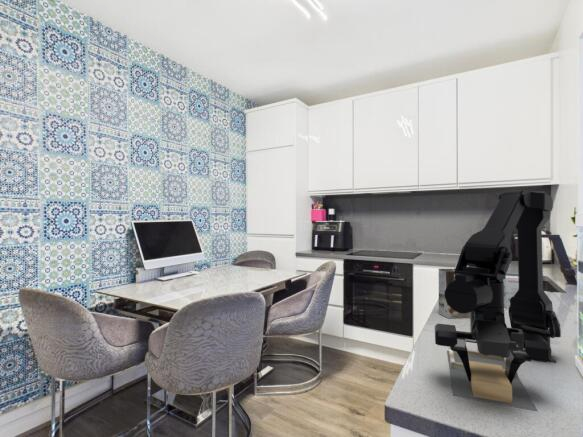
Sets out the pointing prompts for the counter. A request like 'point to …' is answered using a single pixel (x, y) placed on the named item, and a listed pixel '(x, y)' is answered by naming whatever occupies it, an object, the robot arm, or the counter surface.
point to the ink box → (510, 289)
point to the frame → (473, 354)
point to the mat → (463, 389)
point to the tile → (490, 382)
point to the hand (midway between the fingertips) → (488, 383)
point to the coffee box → (444, 309)
